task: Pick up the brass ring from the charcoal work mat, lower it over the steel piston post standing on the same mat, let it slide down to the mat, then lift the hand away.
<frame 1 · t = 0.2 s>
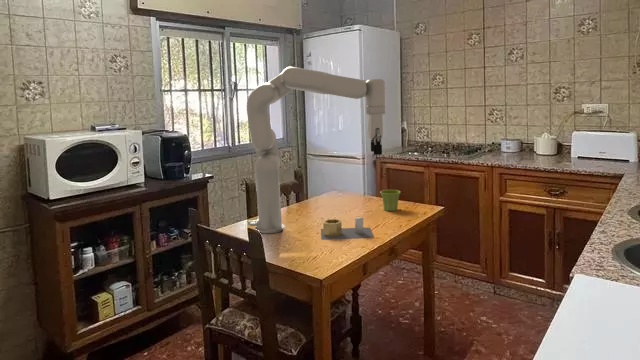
hand: (376, 153, 206), 31 cm above the table, tool pointing down, fingers open, 9 cm apart
brass ring: (332, 233, 199), point 1 cm above the table, touching piston stand
piston stand: (346, 236, 199), on the table
plant pot: (390, 210, 238), on the table
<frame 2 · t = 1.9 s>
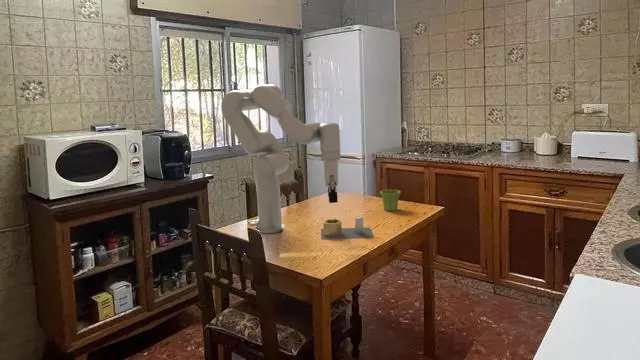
hand: (332, 199, 196), 15 cm above the table, tool pointing down, fingers open, 9 cm apart
nothing on the table moved.
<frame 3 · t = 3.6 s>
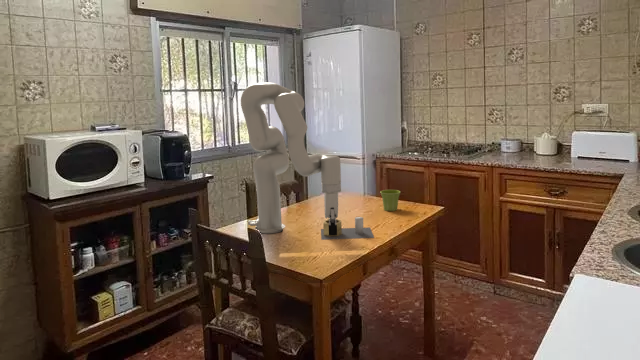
hand: (332, 231, 199), 2 cm above the table, tool pointing down, fingers closed on brass ring, 7 cm apart
brass ring: (332, 233, 199), point 1 cm above the table, touching gripper, piston stand
everything else where it was.
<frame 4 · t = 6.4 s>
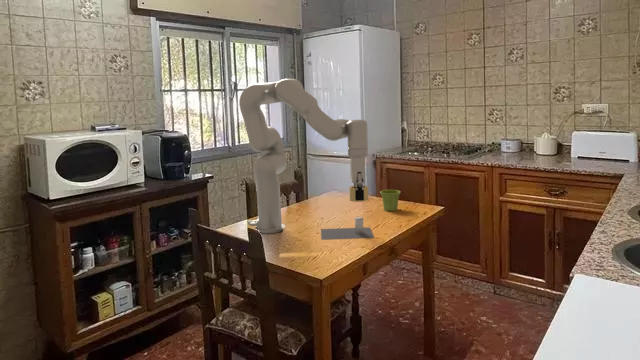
hand: (358, 197, 196), 15 cm above the table, tool pointing down, fingers closed on brass ring, 7 cm apart
brass ring: (358, 199, 196), point 15 cm above the table, touching gripper
everything else where it was.
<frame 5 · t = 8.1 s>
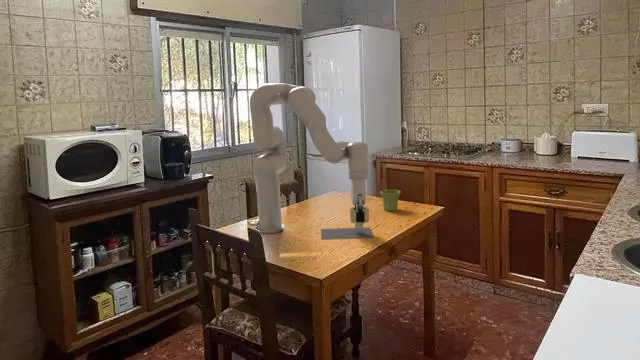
hand: (359, 219, 198), 7 cm above the table, tool pointing down, fingers closed on brass ring, 7 cm apart
brass ring: (359, 221, 198), point 6 cm above the table, touching gripper
everything else where it was.
when the fingers open (4 cm above the table, at t = 9.3 s): brass ring drops 2 cm, resting on piston stand.
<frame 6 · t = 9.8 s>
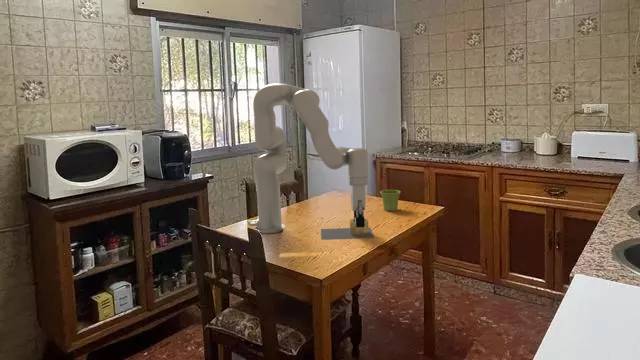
hand: (359, 223, 198), 5 cm above the table, tool pointing down, fingers open, 9 cm apart
brass ring: (359, 232, 199), point 1 cm above the table, touching piston stand
everything else where it was.
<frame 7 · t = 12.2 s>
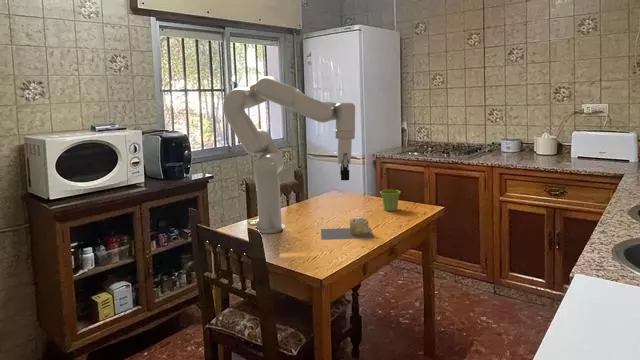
hand: (344, 177, 201), 22 cm above the table, tool pointing down, fingers open, 9 cm apart
nothing on the table moved.
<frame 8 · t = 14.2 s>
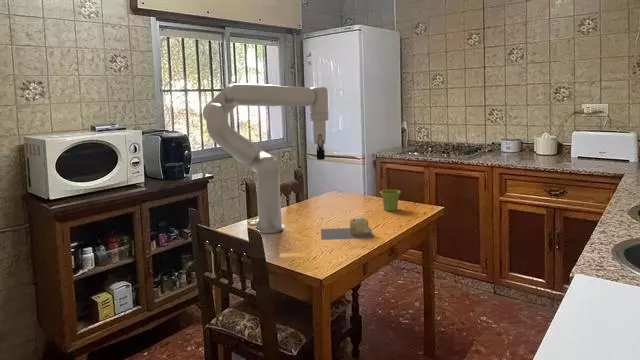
hand: (320, 157, 214), 28 cm above the table, tool pointing down, fingers open, 9 cm apart
nothing on the table moved.
at the end: brass ring 0.1 cm from the target spot on the piston stand, point 1.2 cm above the piston stand's base; brass ring tilted 0°; the gripper is holding nothing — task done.
